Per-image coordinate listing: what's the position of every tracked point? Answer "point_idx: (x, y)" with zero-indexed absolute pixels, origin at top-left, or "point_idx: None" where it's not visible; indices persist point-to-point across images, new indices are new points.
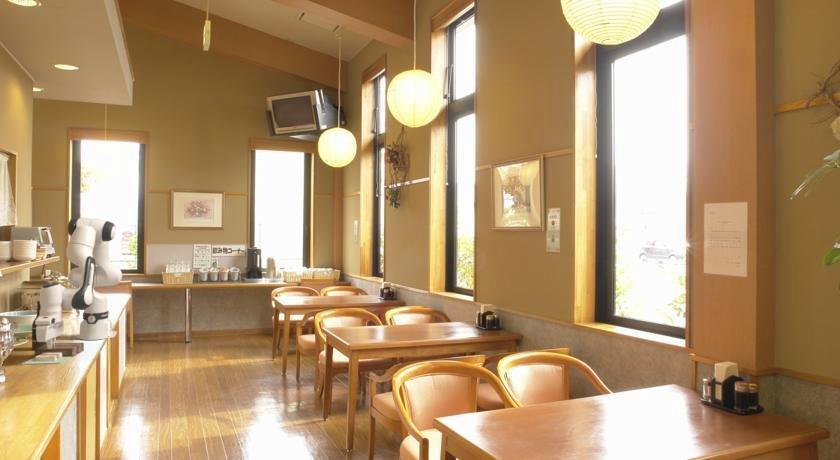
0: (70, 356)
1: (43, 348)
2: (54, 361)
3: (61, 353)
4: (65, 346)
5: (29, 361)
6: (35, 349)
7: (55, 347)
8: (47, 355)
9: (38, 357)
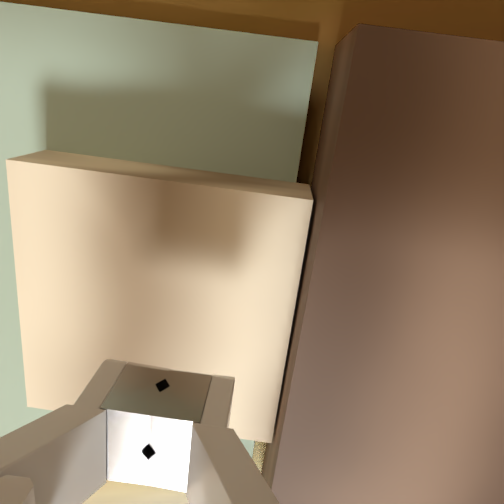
0: (262, 472)
1: (429, 190)
2: (12, 375)
3: (247, 431)
4: (472, 497)
5: (33, 66)
6: (367, 42)
7: (444, 379)
8: (84, 311)
9: (19, 202)
